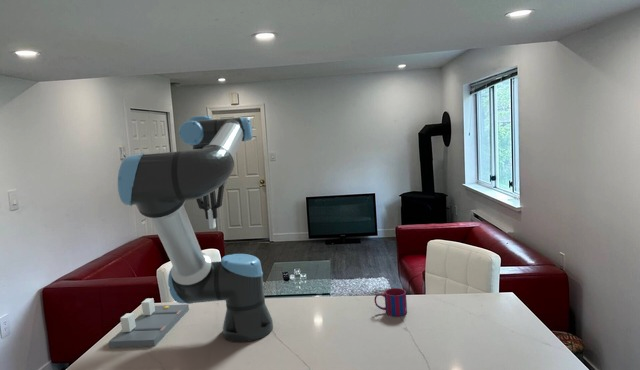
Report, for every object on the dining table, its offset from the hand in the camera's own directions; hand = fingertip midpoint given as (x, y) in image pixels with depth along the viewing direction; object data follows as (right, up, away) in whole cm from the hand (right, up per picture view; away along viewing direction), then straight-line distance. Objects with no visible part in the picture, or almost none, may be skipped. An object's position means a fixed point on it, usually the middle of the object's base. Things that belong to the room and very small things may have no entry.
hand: (212, 227), depth 149 cm
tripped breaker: (-20, -29, -5) cm, 35 cm away
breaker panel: (-17, -31, -11) cm, 37 cm away
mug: (+61, -26, -14) cm, 67 cm away
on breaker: (-22, -30, -17) cm, 41 cm away
